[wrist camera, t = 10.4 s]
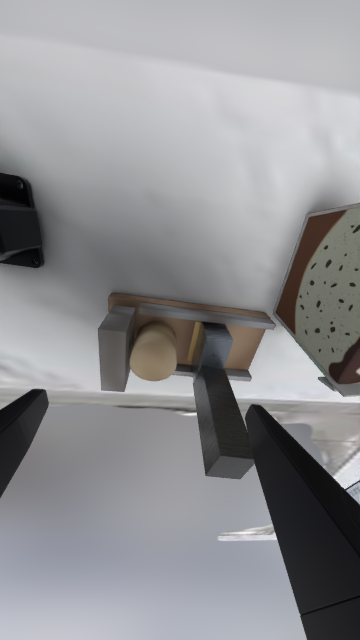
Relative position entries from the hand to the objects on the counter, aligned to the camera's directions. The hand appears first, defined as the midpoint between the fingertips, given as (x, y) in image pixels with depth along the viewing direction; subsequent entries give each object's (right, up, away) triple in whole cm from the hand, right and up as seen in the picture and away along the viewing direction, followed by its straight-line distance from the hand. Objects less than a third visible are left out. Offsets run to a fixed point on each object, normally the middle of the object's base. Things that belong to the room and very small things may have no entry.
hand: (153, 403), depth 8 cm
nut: (-1, +2, +11) cm, 11 cm away
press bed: (+2, +2, +13) cm, 13 cm away
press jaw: (+4, +1, +12) cm, 12 cm away
